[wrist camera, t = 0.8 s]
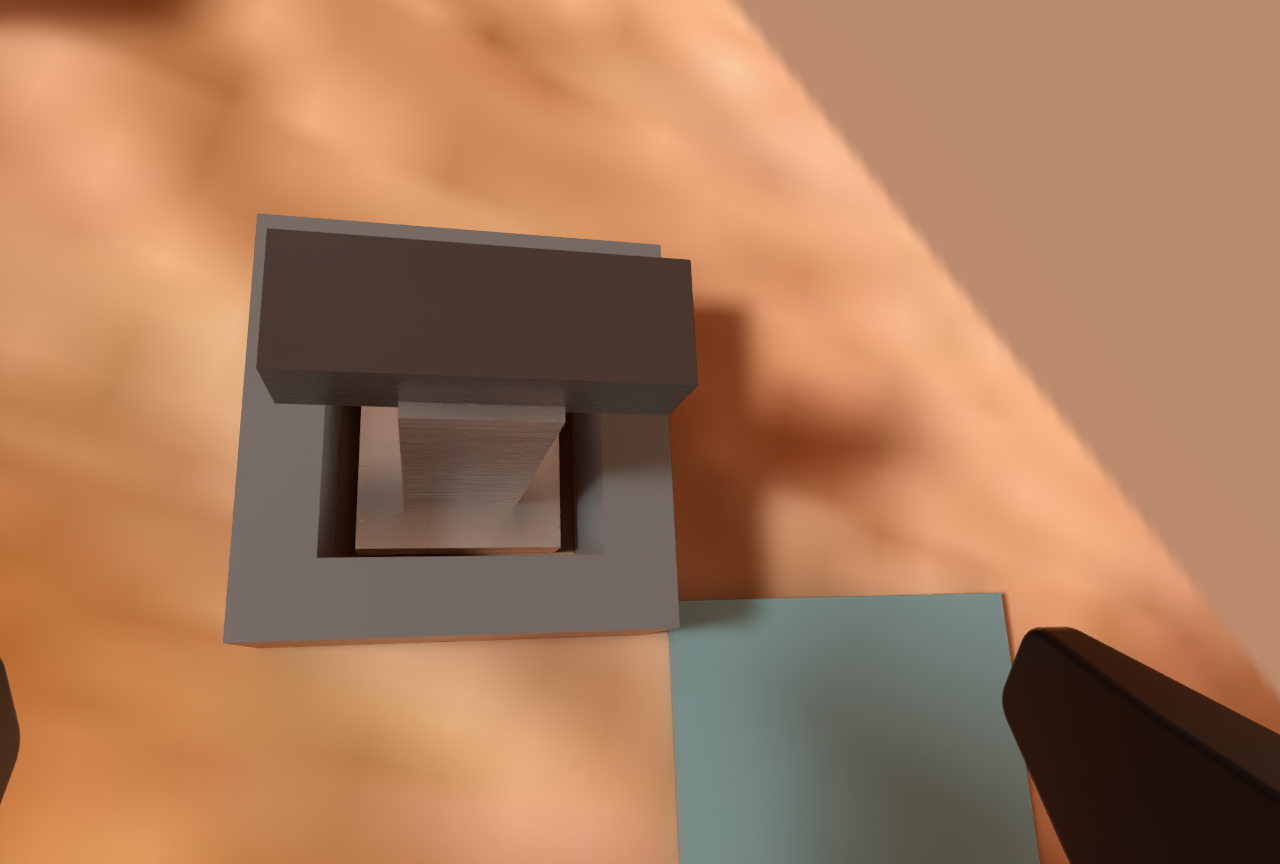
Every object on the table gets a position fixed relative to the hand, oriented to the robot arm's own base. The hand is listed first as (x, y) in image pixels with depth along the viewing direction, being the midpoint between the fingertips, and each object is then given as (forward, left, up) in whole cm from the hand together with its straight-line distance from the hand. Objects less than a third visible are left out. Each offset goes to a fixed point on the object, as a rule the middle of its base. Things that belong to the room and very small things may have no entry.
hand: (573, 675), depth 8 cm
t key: (+5, 0, -13) cm, 14 cm away
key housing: (+5, 0, -13) cm, 14 cm away
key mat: (-3, -9, -13) cm, 16 cm away
